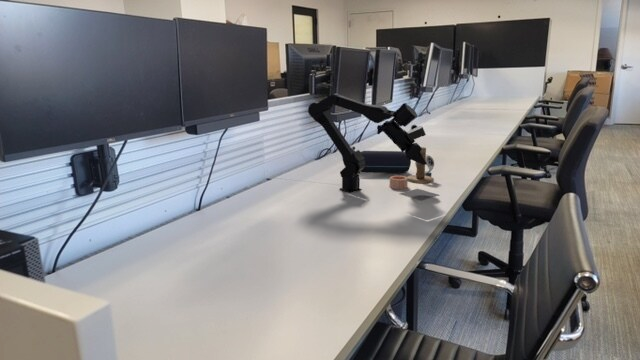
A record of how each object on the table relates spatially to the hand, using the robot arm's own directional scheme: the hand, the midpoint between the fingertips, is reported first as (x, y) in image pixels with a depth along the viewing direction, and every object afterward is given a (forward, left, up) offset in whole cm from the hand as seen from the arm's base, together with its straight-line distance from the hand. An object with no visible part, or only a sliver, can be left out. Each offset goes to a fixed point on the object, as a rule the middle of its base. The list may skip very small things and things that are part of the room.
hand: (424, 163), depth 169 cm
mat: (-1, +1, -13) cm, 13 cm away
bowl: (+1, +13, -13) cm, 18 cm away
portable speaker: (+14, +35, -13) cm, 40 cm away
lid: (-1, +1, -7) cm, 7 cm away
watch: (+18, +14, -13) cm, 26 cm away
